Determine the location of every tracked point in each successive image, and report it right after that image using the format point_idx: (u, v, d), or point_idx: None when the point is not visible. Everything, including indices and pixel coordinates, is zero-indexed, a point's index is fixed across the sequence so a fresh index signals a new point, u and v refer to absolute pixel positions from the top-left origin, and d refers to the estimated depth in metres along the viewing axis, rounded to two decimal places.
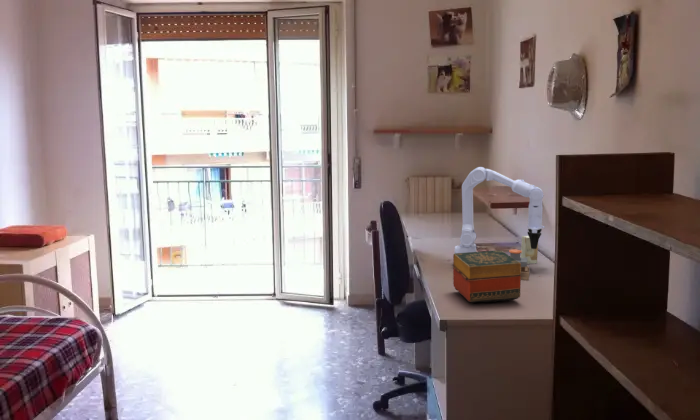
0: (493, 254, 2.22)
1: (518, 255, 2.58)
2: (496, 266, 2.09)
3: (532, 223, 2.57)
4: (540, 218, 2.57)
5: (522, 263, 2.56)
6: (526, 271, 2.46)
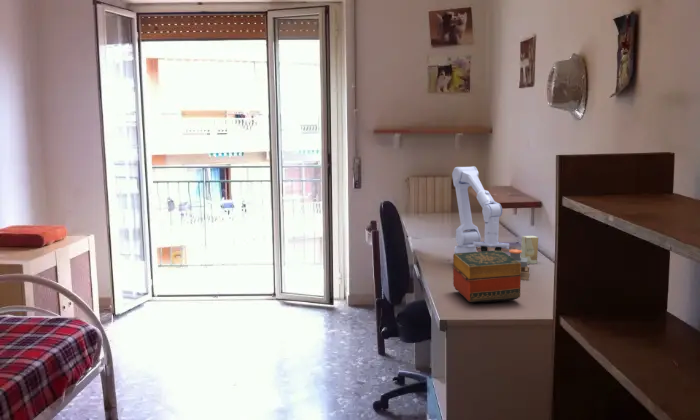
0: (493, 254, 2.22)
1: (518, 255, 2.58)
2: (496, 266, 2.09)
3: None
4: (486, 235, 2.51)
5: (522, 263, 2.56)
6: (526, 271, 2.46)
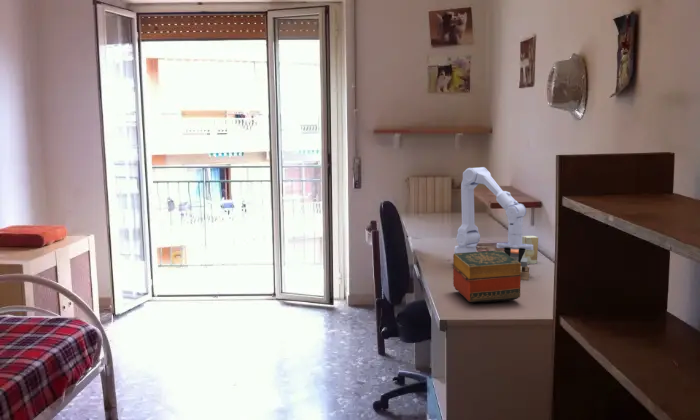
0: (493, 254, 2.22)
1: (518, 255, 2.58)
2: (496, 266, 2.09)
3: None
4: (510, 236, 2.48)
5: (522, 263, 2.56)
6: (526, 271, 2.46)
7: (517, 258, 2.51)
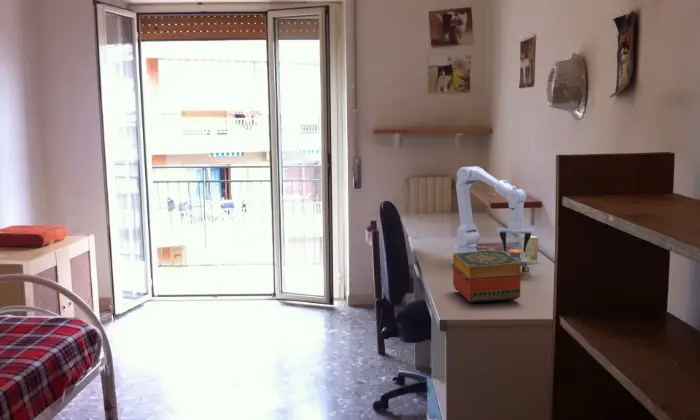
0: (493, 254, 2.22)
1: (518, 255, 2.58)
2: (496, 266, 2.09)
3: None
4: (511, 221, 2.48)
5: (522, 263, 2.56)
6: (526, 271, 2.46)
7: (517, 258, 2.51)
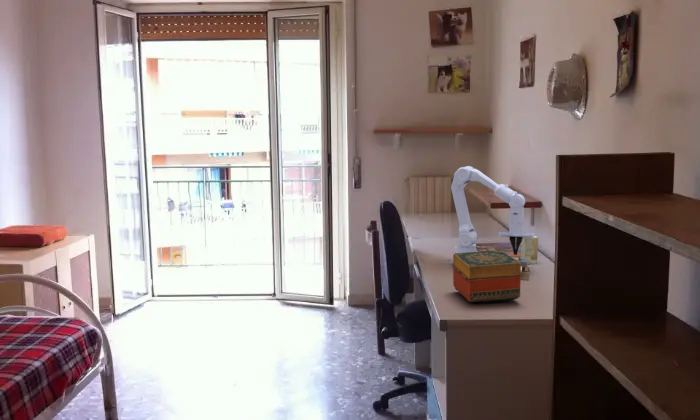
0: (493, 254, 2.22)
1: (518, 259, 2.58)
2: (496, 266, 2.09)
3: None
4: (511, 225, 2.57)
5: (522, 263, 2.56)
6: (526, 271, 2.46)
7: (517, 258, 2.51)
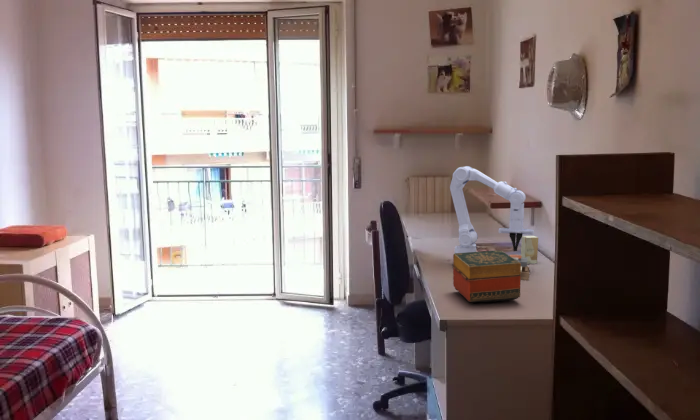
0: (493, 254, 2.22)
1: (518, 260, 2.58)
2: (496, 266, 2.09)
3: None
4: (512, 221, 2.57)
5: (522, 263, 2.56)
6: (526, 271, 2.46)
7: (517, 258, 2.51)
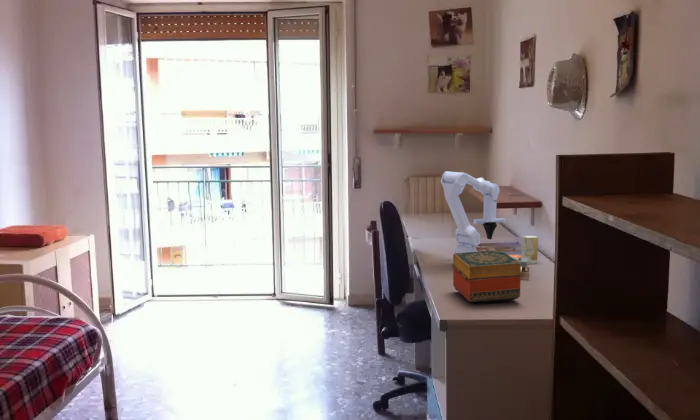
0: (493, 254, 2.22)
1: (518, 260, 2.58)
2: (496, 266, 2.09)
3: (483, 216, 2.77)
4: (488, 212, 2.74)
5: (522, 263, 2.56)
6: (526, 271, 2.46)
7: (517, 258, 2.51)
